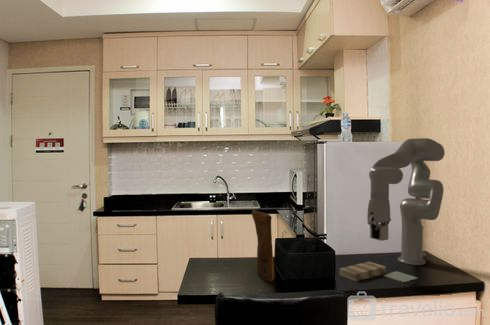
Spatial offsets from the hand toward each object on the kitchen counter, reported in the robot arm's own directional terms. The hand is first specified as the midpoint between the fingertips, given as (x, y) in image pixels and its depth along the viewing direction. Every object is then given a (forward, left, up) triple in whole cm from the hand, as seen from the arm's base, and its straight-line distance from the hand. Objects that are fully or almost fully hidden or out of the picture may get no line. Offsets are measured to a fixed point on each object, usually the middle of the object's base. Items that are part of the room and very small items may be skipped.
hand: (379, 237), depth 156 cm
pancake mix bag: (+44, -25, -17) cm, 54 cm away
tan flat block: (+5, -4, -17) cm, 18 cm away
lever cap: (0, 0, -1) cm, 1 cm away
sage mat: (-6, +7, -17) cm, 19 cm away
